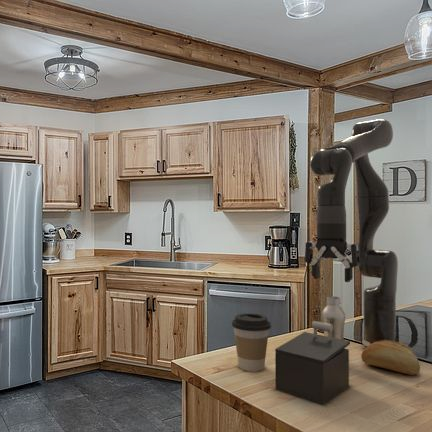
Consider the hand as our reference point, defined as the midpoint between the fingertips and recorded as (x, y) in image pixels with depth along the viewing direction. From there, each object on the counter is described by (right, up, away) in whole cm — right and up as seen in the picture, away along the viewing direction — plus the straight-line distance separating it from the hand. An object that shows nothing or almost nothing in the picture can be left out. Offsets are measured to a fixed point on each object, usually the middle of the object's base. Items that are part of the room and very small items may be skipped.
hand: (331, 280), depth 119 cm
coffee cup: (-20, -27, +9) cm, 35 cm away
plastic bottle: (+6, -27, +11) cm, 30 cm away
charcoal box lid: (-8, -17, -6) cm, 20 cm away
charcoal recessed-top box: (-8, -27, -6) cm, 29 cm away
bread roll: (+20, -27, +6) cm, 34 cm away
